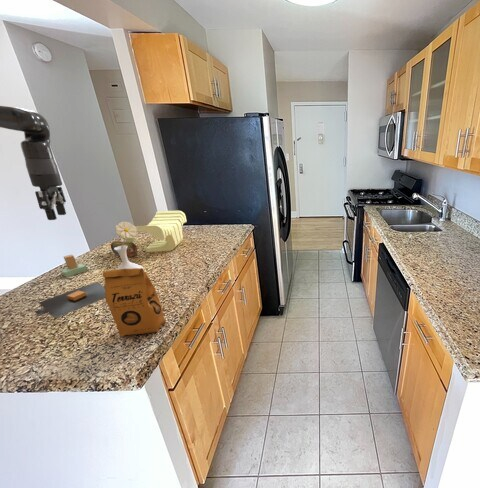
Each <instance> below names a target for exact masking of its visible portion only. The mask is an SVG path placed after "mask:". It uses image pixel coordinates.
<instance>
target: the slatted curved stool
mask: <svg viewBox="0 0 480 488" xmlns="http://www.w3.org/2000/svg"><path fill="white" fill-rule="evenodd" d="M185 223H187V215H186V213H185V212H183V211H182V210H178V209H177V210H157V211H156V212H155V215H154V217H152V219H151V221H150V222H149V223H148V224H146V225H134V226H135V227H136V230H137V231H136V233H137V232H139V233H148V234H150V235H152V236H153V237H154V239H155V241H153V242H152V243H151V244H150V245H148V246H147V247H146V248H145V252H146V253H153V252H155V253H156V252H170V251H173V250H174V249H175V248H177V246H178V245H179V244H181V243H182V242H183V240H184V235H183V226H184V224H185Z"/></svg>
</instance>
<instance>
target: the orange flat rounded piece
mask: <svg viewBox="0 0 480 488" xmlns="http://www.w3.org/2000/svg"><path fill="white" fill-rule="evenodd" d="M84 296H86V293H85V292H83V291H79V290H78V291H76V292H74V293H71V294H69V295H67V298H68V299H70V300H74V301H75V300H77V299H80V298H82V297H84Z"/></svg>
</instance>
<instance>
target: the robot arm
mask: <svg viewBox="0 0 480 488" xmlns="http://www.w3.org/2000/svg"><path fill="white" fill-rule="evenodd" d="M0 128H1V129H6V130H12V131H18V132H23V136H24V140H21V142H20V148H21V152H22V155H23V158H24V162H25V163H24V164H25V168H26V170H27V174H28V177H29V180H30V183H31V185H32V186H33V187H35V188H39V190H38V191H35V192H34V193H35V197H36V200H37V203H38V207H39V209H40V210H44V213H45V215H46V218H47V220H48V221H56V220H57V215H58V216H65V215H67V211H66V208H65V204H66V202H67V200H66V197H65V193H64V190H63V188H62V185H63V181H62V178H61V175H60V172H59V167H58V165H57V163H56V161H55V158H54V154H53V151H52V148H51V130H50V126H49V123H48V120H47V119H46V118H45V116H43V115H42V114H41V113H40V112H37V111H35V110H29V109H25V108H20V107H14V106H7V105H0ZM54 207H55V208H54ZM55 209H56V211H55ZM56 213H57V215H56Z"/></svg>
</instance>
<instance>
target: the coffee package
mask: <svg viewBox="0 0 480 488" xmlns="http://www.w3.org/2000/svg"><path fill="white" fill-rule="evenodd" d="M102 277H103V278H104V285H105V292H106V298H105V302H106V304H107V306H108V309H109V311H110V315H111V316H112V319H113V321H114V323H115V326H116V329H117V331H118V335H119V337H123V336H132V335H143V334H149V333H150V334H151V333H157V332H159V330H160V329H161V327H162V325H163V324H165V323H166V318H165V315H164V310H163V306H162V303H161V300H160V298H159V295H158V292H157V291H156V288H155V285H154V284H153V282H152V281H151V279H150V278H149V276H148V274H147V272H146V271H145V270H144V268H143V269H142V268H133V269H118V270H116V269H111V270H104V271H103V272H102Z"/></svg>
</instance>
